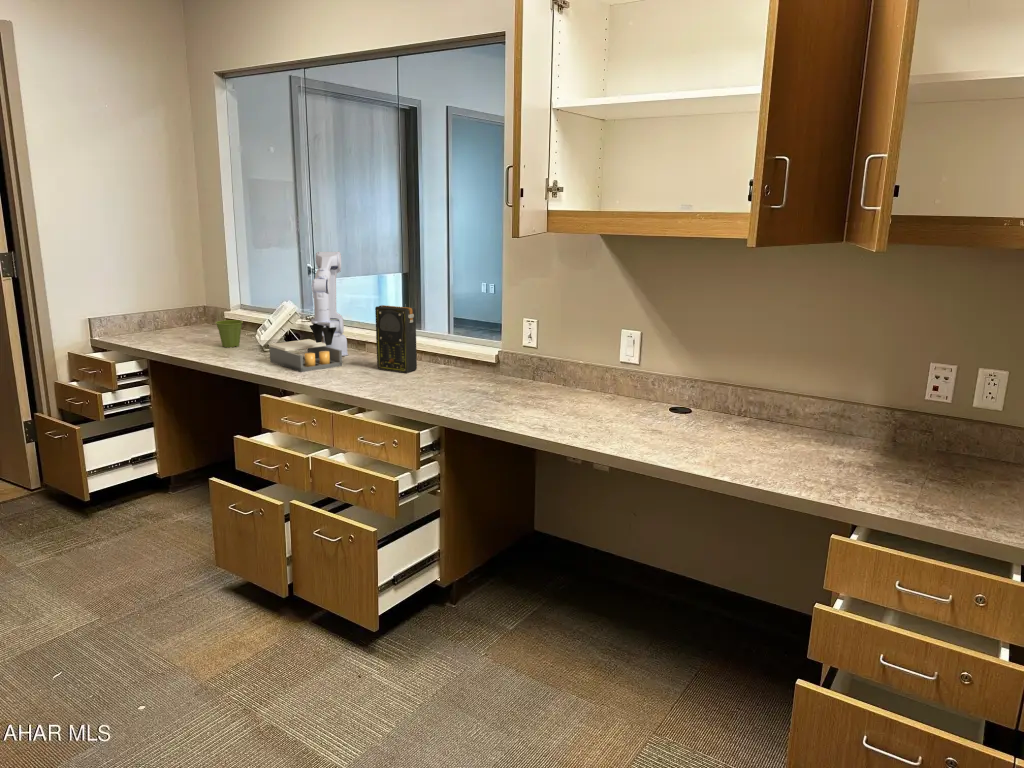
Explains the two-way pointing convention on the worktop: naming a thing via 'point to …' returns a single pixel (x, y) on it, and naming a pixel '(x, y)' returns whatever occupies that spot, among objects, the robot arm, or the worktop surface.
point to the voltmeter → (396, 338)
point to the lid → (297, 345)
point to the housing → (298, 363)
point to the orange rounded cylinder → (309, 359)
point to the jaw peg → (324, 357)
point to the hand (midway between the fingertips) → (323, 343)
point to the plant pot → (229, 332)
